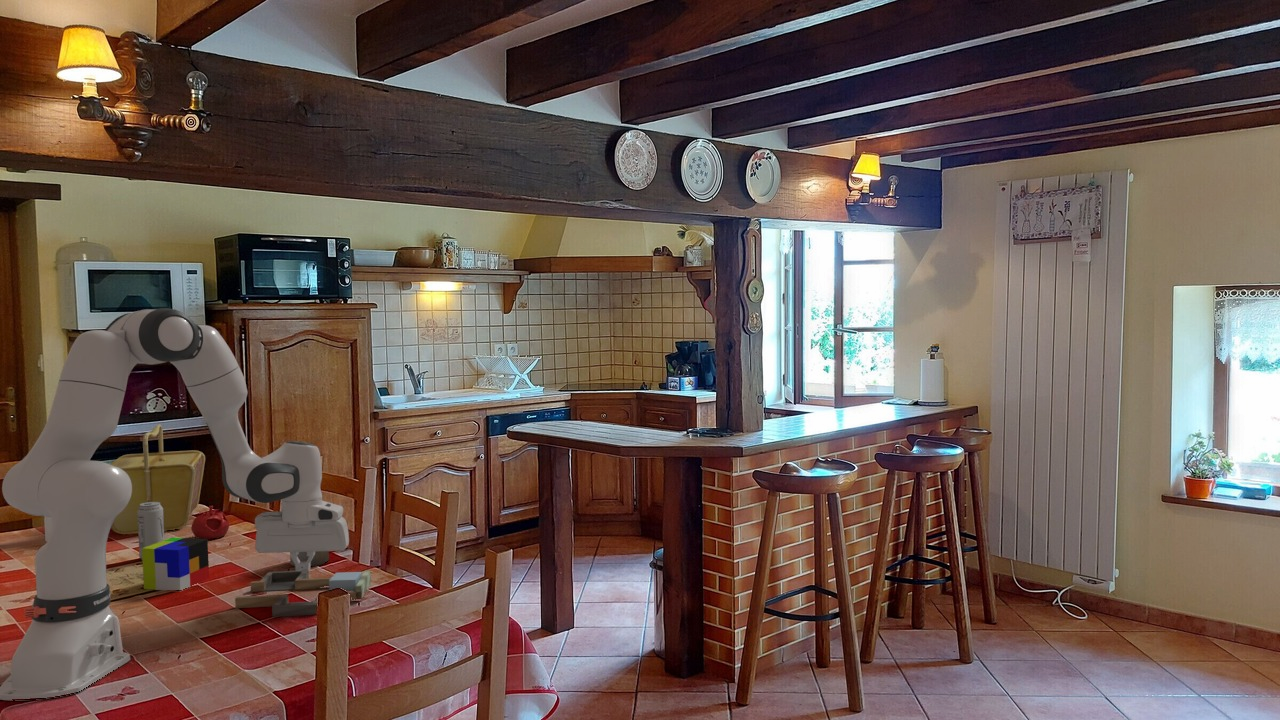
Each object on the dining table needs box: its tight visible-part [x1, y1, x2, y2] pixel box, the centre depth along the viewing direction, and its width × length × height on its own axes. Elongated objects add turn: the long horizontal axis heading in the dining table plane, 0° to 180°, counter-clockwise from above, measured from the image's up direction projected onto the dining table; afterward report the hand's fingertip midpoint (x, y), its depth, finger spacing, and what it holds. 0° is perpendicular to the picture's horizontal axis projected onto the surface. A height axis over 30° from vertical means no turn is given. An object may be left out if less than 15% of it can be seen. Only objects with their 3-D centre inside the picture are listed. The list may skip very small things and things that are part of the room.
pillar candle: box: [289, 551, 330, 568], centre depth 229 cm, size 10×10×15 cm
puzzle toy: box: [142, 536, 210, 591], centre depth 212 cm, size 10×10×10 cm
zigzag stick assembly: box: [234, 569, 372, 618], centre depth 202 cm, size 27×27×4 cm
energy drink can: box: [137, 502, 165, 562], centre depth 234 cm, size 6×6×15 cm
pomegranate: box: [191, 505, 230, 540], centre depth 256 cm, size 10×10×9 cm
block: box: [328, 571, 363, 591], centre depth 203 cm, size 6×6×4 cm
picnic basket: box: [109, 424, 206, 535], centre depth 273 cm, size 29×26×30 cm
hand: (303, 570), depth 201 cm, fingers closed
